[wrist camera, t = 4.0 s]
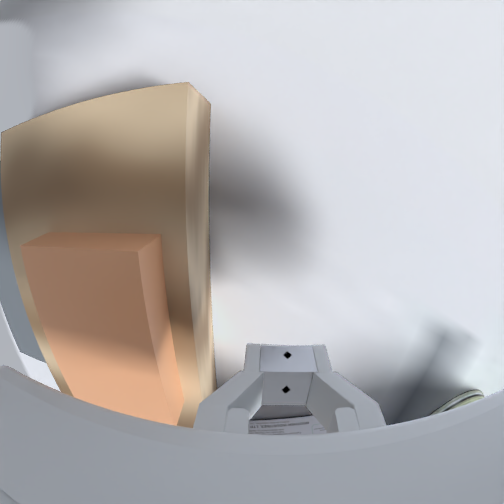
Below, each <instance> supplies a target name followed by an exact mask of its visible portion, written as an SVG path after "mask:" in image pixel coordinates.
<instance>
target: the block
mask: <svg viewBox="0 0 504 504" xmlns="http://www.w3.org/2000/svg"><path fill="white" fill-rule="evenodd" d="M20 247H21V252H22V257H23V262H24V266H25V271H26V275H27V279H28V283H29V286H30V290H31V294H32V297H33V300H34V304H35V307H36V310H37V313H38V316H39V319H40V322H41V325H42V327H43V330H44V333H45V335H46V338H47V341H48V343H49V346H50V348H51V350H52V353H53V355H54V357H55V360H56V362H57V364H58V366H59V368H60V371H61V373H62V375H63V377H64V379H65V381H66V383H67V385H68V387H69V389H70V391H71V392H72V394H73V396H74V397H75V398H78V399H80V400H83V401H86V402H89V403H91V404H94V405H97V406H100V407H103V408H107V409H110V410H113V411H117V412H120V413H124V414H127V415H131V416H135V417H139V418H143V419H147V420H151V421H156V422H161V423H165V424H171V425H176V426H177V423H178V420H179V417H180V413H181V410H182V407H183V404H184V398H183V393H182V388H181V383H180V378H179V373H178V368H177V362H176V357H175V351H174V345H173V339H172V332H171V325H170V318H169V311H168V303H167V295H166V286H165V277H164V266H163V255H162V242H161V234H133V233H70V232H48V233H46V234H44V235H42V236H39V237H37V238H35V239H33V240H31V241H29V242H27V243H24V244H22V245H20Z"/></svg>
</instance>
